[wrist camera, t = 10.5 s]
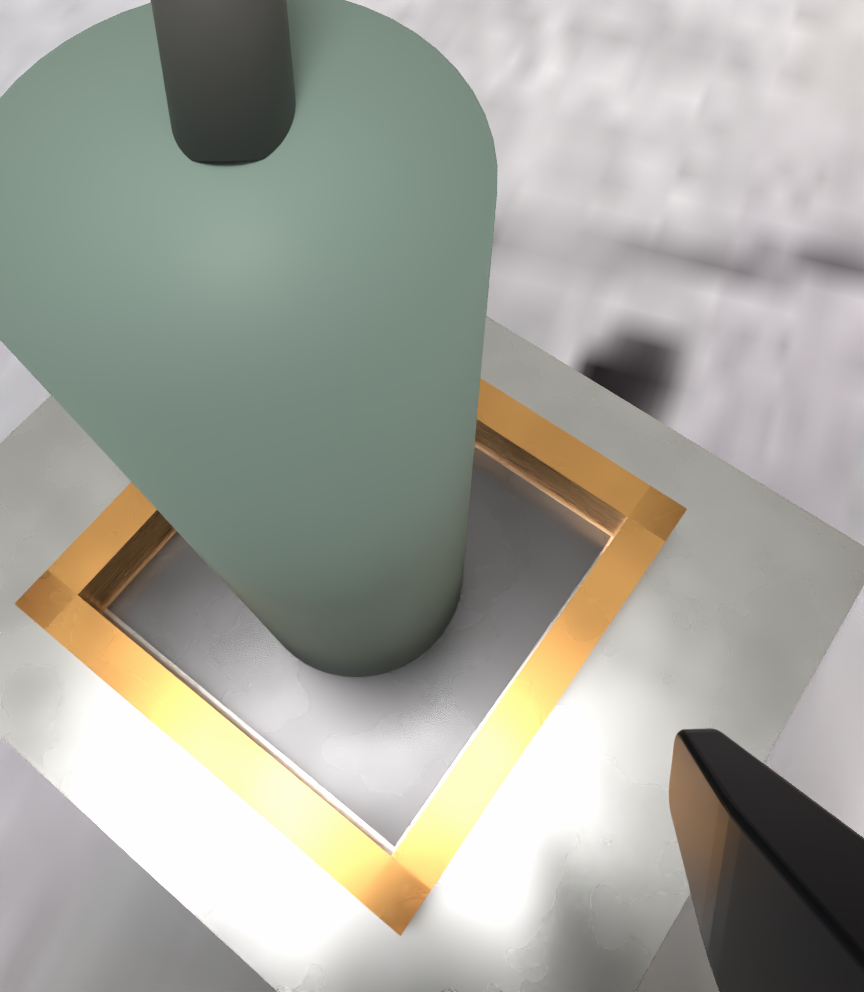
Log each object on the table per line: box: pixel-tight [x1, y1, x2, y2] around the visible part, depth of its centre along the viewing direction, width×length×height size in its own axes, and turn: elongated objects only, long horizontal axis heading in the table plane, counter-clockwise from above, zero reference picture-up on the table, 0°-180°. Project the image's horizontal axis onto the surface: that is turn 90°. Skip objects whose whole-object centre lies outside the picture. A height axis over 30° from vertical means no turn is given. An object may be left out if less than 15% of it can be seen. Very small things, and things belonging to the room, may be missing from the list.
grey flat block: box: [0, 316, 864, 992], centre depth 20 cm, size 20×16×4 cm
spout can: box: [0, 0, 497, 677], centre depth 12 cm, size 5×5×15 cm
